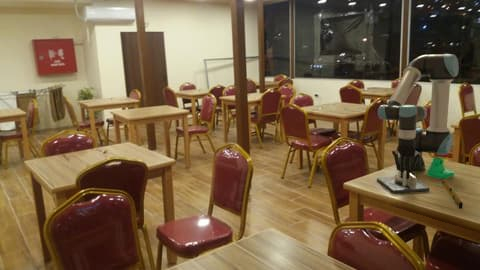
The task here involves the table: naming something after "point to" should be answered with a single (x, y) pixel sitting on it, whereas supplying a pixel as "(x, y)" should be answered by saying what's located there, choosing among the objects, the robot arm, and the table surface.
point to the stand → (398, 188)
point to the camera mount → (439, 169)
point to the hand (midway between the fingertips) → (404, 184)
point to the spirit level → (452, 193)
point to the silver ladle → (410, 182)
